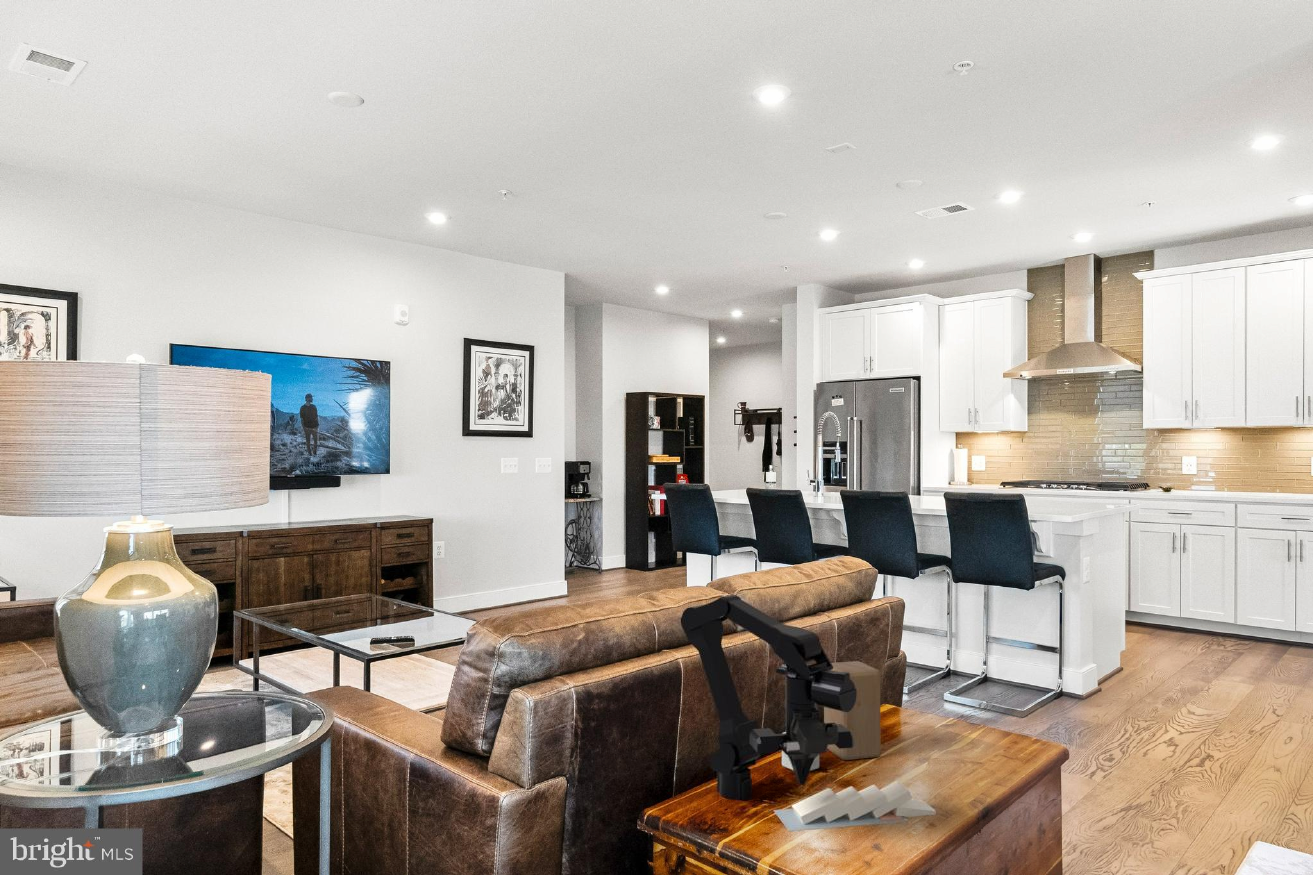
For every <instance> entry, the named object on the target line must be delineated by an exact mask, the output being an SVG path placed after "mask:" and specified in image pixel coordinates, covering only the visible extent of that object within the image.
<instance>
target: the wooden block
mask: <svg viewBox="0 0 1313 875" xmlns="http://www.w3.org/2000/svg"><path fill="white" fill-rule="evenodd" d="M831 664H832V666H833V669H832V670H833V671H838V672H848V673H849V674H850V680H852V681H853V683H854V685H855V689H856V690H857V696H856V702H855V705H854V707H853V708H852V710H850V711H849V712H843V711H839V710H835V709H831V708H826V707H823V723H836V724H841V725H843V726H844V727H845V728H846V729H848V730H849V731H850V732H851V733H852V734H853V737H854V747H853V748H842V749H839V748H838V747H837V746H836V745H835V744H834V745H828V748H827V750H829V751H830V752H831V753H833V754H834V755H836V756H837V757H839V759H841V760H844V761H851V760H859V759H870V758H876V757H877V758H878V757H880V756H881V753H882V750H881V749H882V748H881V747H882V745H881V742H882V741H881V740H882V739H881V738H882V737H881V727H882V726H881V673H880V670H879V669H877V668H874V667H873V666H870V665H868V664H867V663H864V662H862V661H859V660H856V661H855V660H853V661H841V662H831Z"/></svg>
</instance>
